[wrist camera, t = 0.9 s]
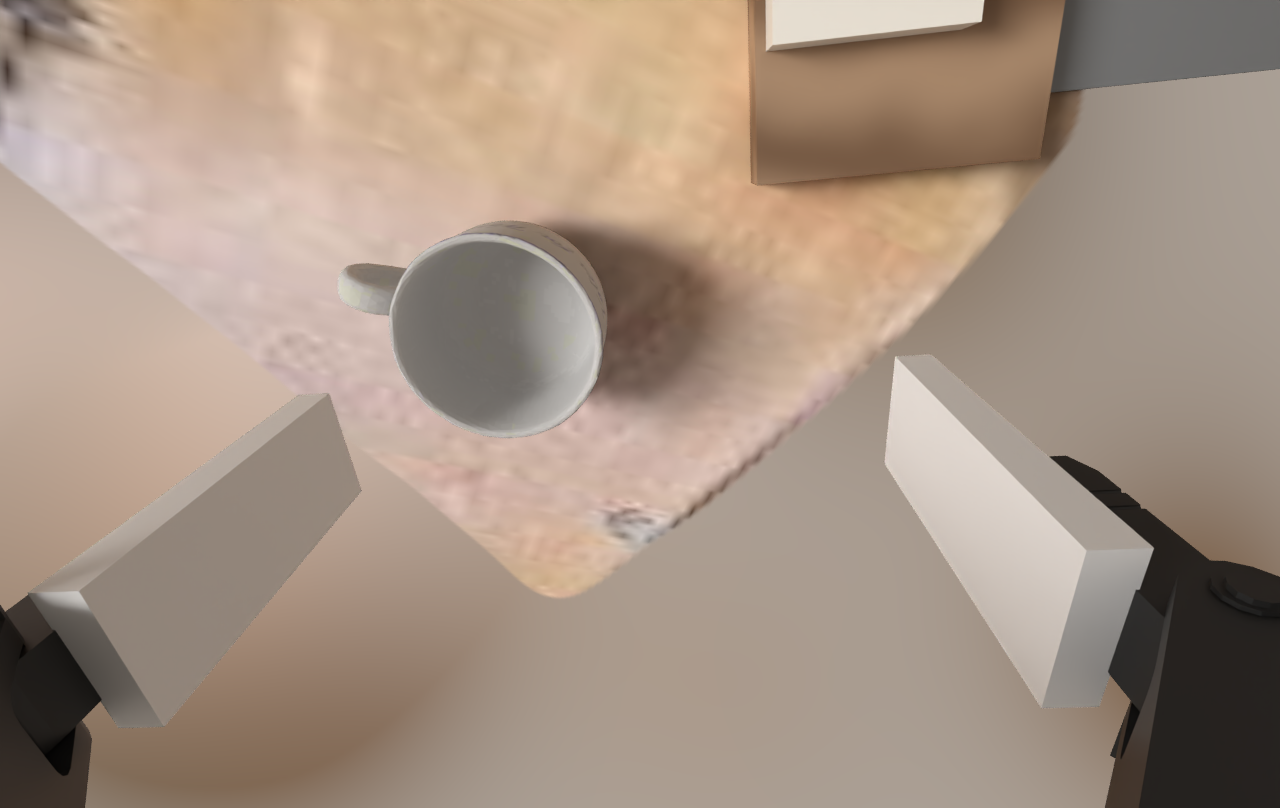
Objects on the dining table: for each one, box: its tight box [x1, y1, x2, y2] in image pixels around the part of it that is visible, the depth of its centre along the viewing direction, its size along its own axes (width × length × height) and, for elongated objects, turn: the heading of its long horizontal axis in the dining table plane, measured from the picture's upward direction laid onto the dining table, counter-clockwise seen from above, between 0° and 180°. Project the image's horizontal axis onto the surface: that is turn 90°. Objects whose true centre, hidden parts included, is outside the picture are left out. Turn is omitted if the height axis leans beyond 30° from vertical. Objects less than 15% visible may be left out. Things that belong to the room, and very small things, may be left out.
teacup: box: [338, 221, 607, 438], centre depth 33 cm, size 14×11×8 cm
